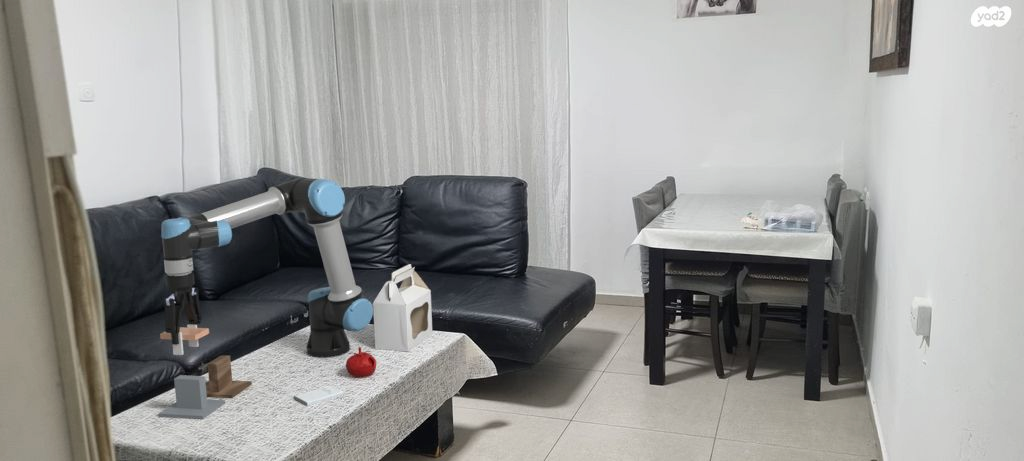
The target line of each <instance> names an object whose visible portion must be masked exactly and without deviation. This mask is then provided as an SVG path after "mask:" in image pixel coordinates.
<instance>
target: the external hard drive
mask: <svg viewBox="0 0 1024 461" xmlns="http://www.w3.org/2000/svg"><path fill="white" fill-rule="evenodd" d="M344 393H345V392H344V391H343V390H341V389H339V388H337V387H335V386H333V385H331V384H330V385H327V386H324V387H320V388H316V389H313V390H310V391H306V392H303V393H299V394H296V395H293V399H294V400H295V401H297V402H298V403H300V404H303V405H304V406H306V407H310V406H312V405H316V404H320V403H322V402H325V401H329V400H331V399H335V398H338V397H341V396H344V395H345V394H344Z"/></svg>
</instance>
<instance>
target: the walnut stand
mask: <svg viewBox="0 0 1024 461" xmlns="http://www.w3.org/2000/svg"><path fill="white" fill-rule="evenodd" d="M231 361H232V360H231V355H222V354H221V355H219V356H217V357H216V358H215V359H213V360H211V361H210V362H208V363H207V372H208V373H207V374H208V381H207V382H205V383H206V394H207V398H219V399H220V398H221V399H233V398H235V397H236V396H238V395H240V394H241V393H242V392H244V391H245V390H246V389H247V388H249V387H250V386H252V384H253V383H252V381H251V380H250V381H249V380H233V374H232V373H233V372H232V362H231Z"/></svg>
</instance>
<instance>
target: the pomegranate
mask: <svg viewBox="0 0 1024 461" xmlns="http://www.w3.org/2000/svg"><path fill="white" fill-rule="evenodd" d="M357 350H358V353H357V352H350V353H348V352H347V354H348V355H351V354H352V355H351V356H350V357H348V359H347V360H346V362H345V369H346V371H347V374H349V375H350V376H352V377H354V378H360V379H361V378H366V377H371V376H372V375H374V373H375V371H376V368H377V359H376V357H374V356H373V354H372V353H371V350H366V351H363V352H362V346H358V347H357Z"/></svg>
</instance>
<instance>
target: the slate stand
mask: <svg viewBox="0 0 1024 461" xmlns="http://www.w3.org/2000/svg"><path fill="white" fill-rule="evenodd" d="M173 380H174V391H175V392H174V393H175V394H174V395H175V400H176V401H175V402H174V403H173V404H171V405H169V406H168V407H167V408H165V409H162V411H160V412H158V414H157V415H158V418H172V419H189V420H190V419H191V420H204V419H206V418H207V417H209V416H210V415H211V414H212V413H214V412H215V411H216V410H218V409H219V408H221V407H222V406H224V405H225V404H226V400H225V399H212V398H211V399H210V398H209V399H208V397H207V394H206V383H207V382H206V377H205V376H204V375H203V376H202V375H184V374H183V375H182V374H180V375H178V376H176V377H175V378H173Z"/></svg>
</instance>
